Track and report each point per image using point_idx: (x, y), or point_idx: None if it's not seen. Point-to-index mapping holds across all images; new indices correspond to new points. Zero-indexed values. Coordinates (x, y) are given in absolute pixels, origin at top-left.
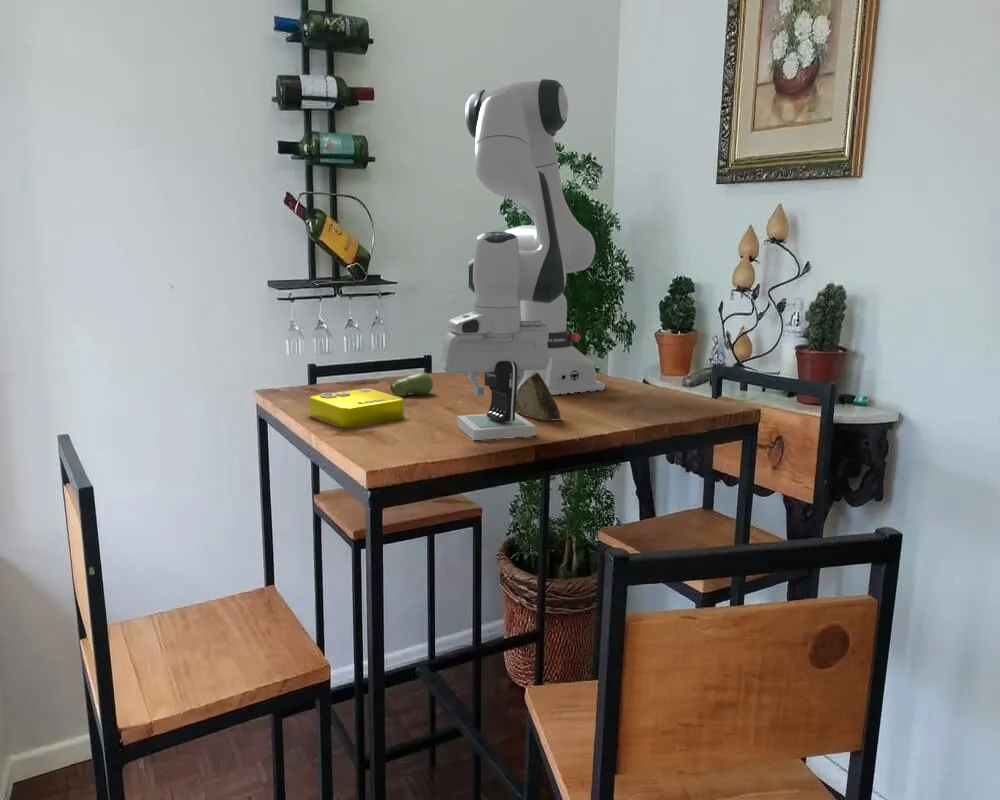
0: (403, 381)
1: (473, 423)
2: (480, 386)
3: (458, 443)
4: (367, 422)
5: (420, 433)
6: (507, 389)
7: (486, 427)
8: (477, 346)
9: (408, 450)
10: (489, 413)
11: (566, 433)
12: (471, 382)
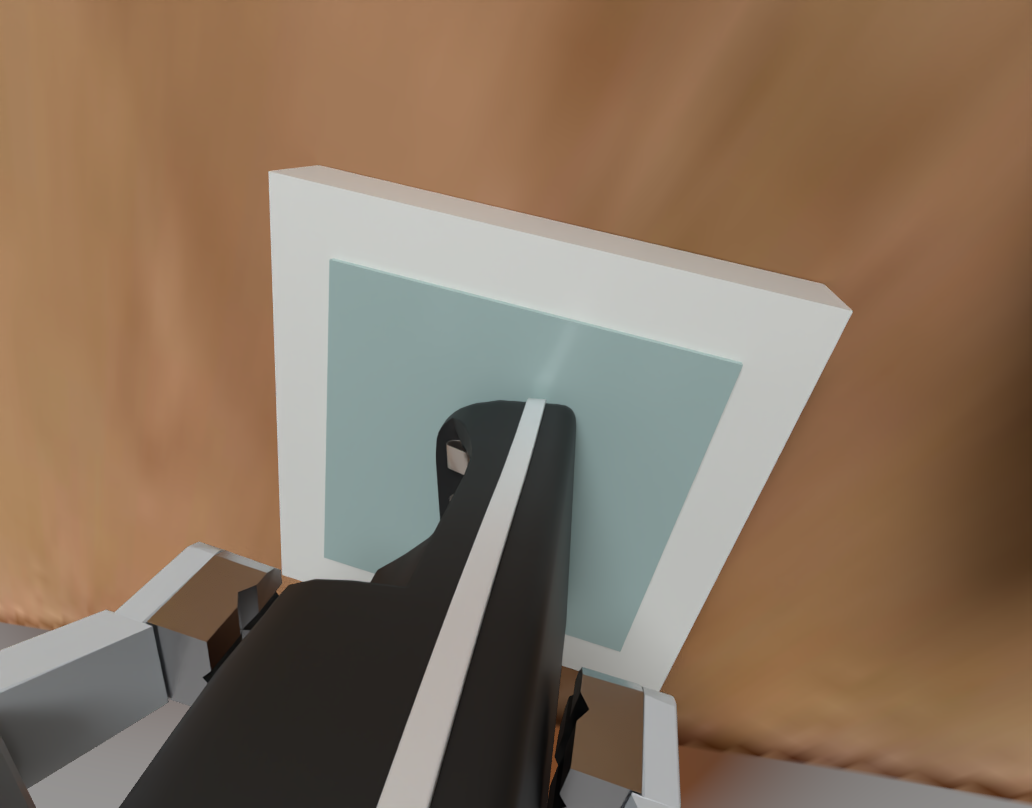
0: None
1: (325, 457)
2: (185, 677)
3: (239, 523)
4: None
5: (65, 245)
6: None
7: (368, 568)
8: None
9: (26, 496)
10: (448, 464)
11: (876, 686)
12: (41, 647)
